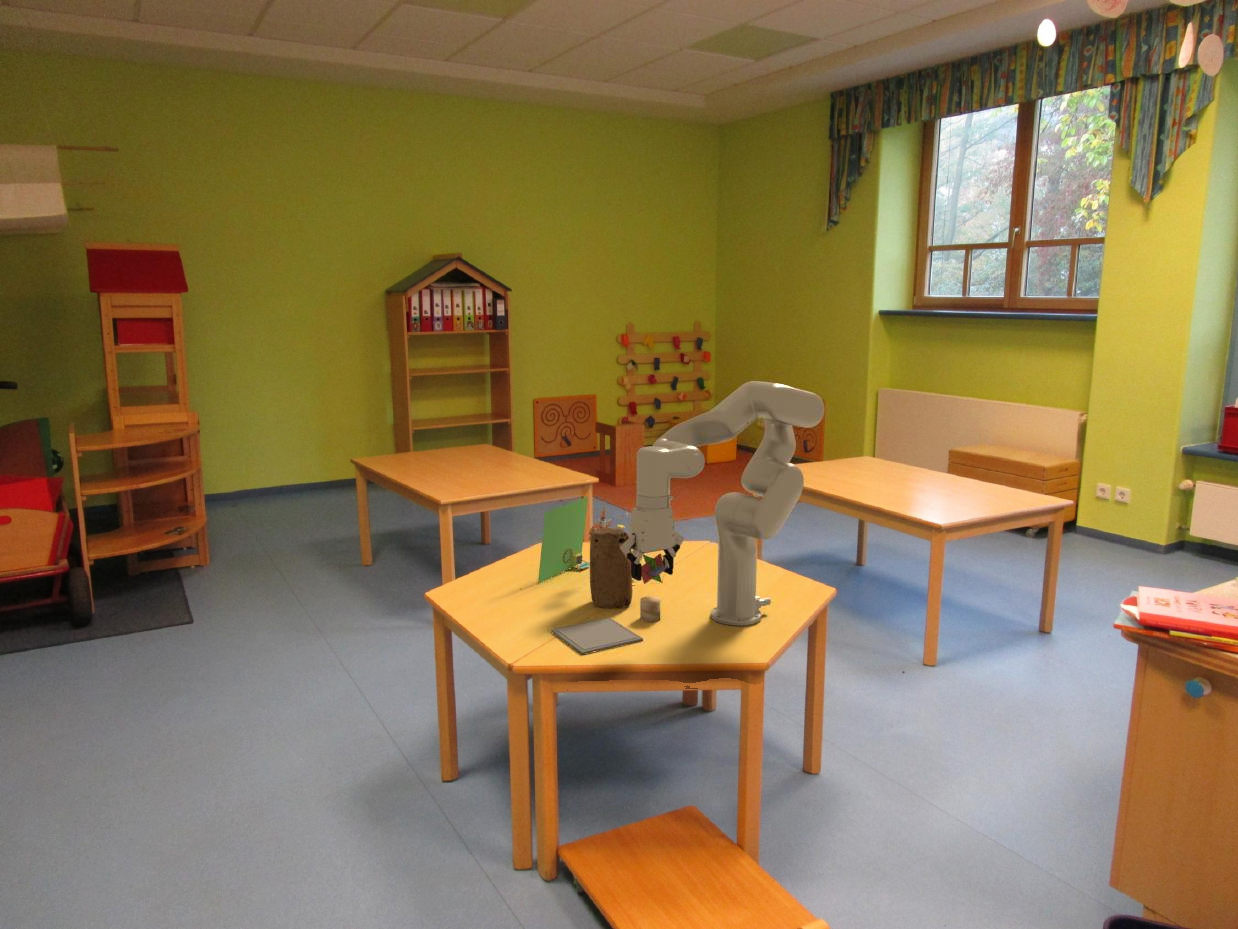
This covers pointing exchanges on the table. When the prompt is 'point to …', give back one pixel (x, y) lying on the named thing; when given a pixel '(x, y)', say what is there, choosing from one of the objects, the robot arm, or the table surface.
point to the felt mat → (596, 635)
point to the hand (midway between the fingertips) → (652, 575)
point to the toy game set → (565, 538)
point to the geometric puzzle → (653, 568)
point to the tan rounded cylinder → (650, 609)
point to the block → (609, 569)
